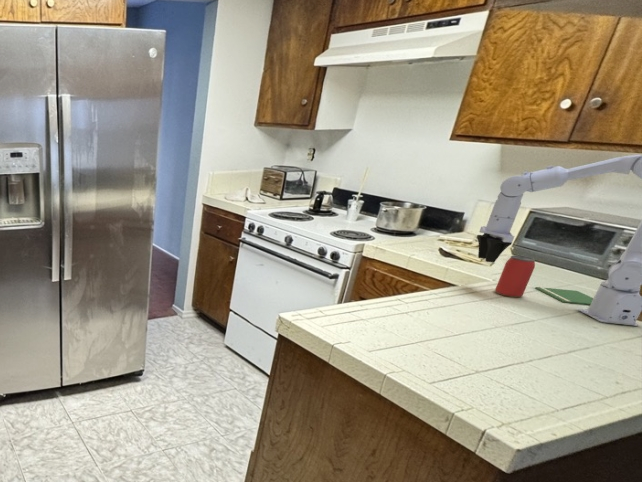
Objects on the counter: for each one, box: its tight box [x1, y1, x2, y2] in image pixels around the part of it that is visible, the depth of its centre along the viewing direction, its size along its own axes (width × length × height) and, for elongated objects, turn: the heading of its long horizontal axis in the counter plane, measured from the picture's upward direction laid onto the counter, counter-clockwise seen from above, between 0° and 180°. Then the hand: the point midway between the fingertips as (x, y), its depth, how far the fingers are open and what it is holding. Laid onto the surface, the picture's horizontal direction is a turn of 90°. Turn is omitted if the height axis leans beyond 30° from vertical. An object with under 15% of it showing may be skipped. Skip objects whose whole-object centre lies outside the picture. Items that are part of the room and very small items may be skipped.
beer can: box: [494, 255, 536, 298], centre depth 146 cm, size 7×7×12 cm
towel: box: [535, 286, 594, 306], centre depth 147 cm, size 14×11×1 cm
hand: (486, 260), depth 147 cm, fingers open, 4 cm apart
